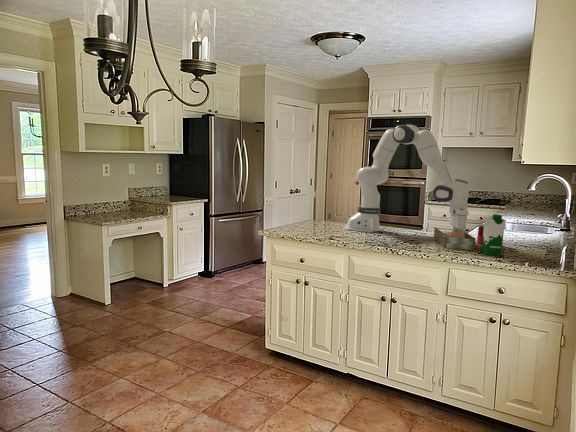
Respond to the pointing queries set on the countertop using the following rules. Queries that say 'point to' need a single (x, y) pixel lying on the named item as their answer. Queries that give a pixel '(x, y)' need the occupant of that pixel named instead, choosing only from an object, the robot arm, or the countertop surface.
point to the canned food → (480, 234)
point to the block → (457, 234)
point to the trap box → (454, 240)
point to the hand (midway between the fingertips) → (455, 235)
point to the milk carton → (493, 235)
